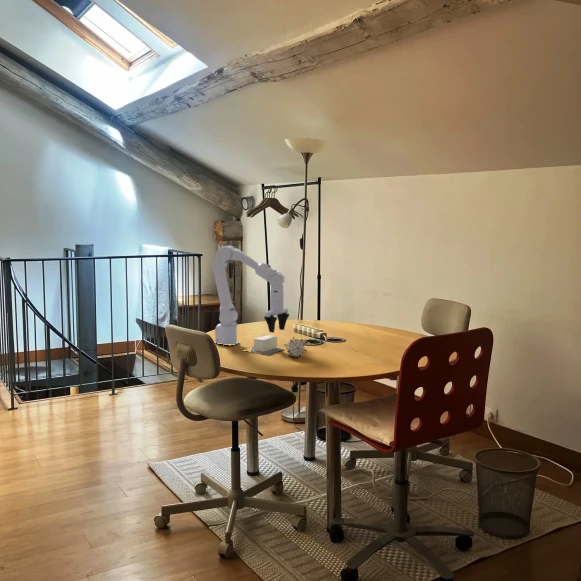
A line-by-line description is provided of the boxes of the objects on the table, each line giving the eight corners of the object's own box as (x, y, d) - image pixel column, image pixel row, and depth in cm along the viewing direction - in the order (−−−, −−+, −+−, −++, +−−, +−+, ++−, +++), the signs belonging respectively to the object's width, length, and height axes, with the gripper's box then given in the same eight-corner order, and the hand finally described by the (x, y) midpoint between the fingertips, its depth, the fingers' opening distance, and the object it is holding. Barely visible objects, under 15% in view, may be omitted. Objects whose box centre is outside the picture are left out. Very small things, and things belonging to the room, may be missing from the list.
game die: (293, 367, 251) (283, 350, 246) (288, 355, 258) (278, 338, 253) (312, 356, 251) (302, 339, 246) (307, 345, 258) (297, 328, 253)
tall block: (267, 346, 271) (254, 350, 263) (267, 334, 270) (254, 338, 262) (277, 347, 268) (263, 351, 260) (277, 336, 268) (263, 340, 259)
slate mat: (241, 350, 263) (241, 350, 263) (258, 346, 273) (258, 345, 273) (267, 355, 255) (267, 354, 255) (284, 350, 265) (284, 349, 265)
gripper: (274, 303, 261) (274, 334, 263) (293, 299, 273) (293, 329, 275) (261, 301, 265) (261, 332, 267) (280, 298, 277) (280, 327, 279)
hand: (276, 330), depth 271 cm, fingers open, 7 cm apart
